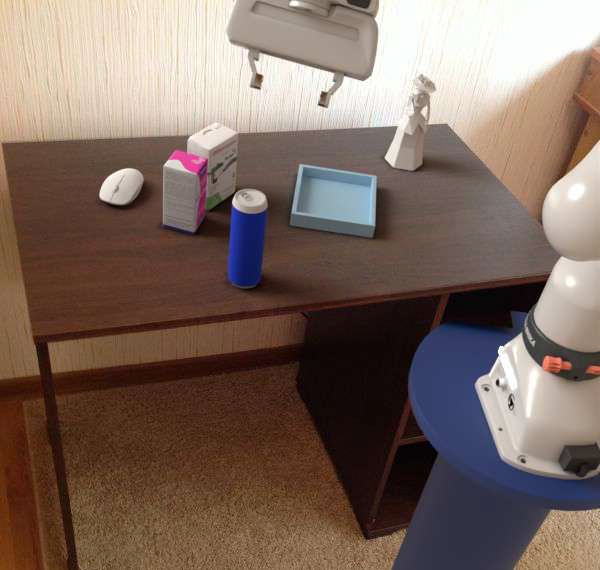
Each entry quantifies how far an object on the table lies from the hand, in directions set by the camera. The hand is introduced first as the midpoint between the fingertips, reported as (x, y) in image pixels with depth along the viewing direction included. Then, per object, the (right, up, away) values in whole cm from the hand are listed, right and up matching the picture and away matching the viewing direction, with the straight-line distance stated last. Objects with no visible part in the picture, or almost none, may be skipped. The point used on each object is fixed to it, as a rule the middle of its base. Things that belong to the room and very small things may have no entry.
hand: (289, 97), depth 102 cm
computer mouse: (-29, -5, +30) cm, 42 cm away
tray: (+8, -6, +35) cm, 36 cm away
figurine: (+22, +7, +49) cm, 54 cm away
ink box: (-14, -5, +32) cm, 36 cm away
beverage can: (-7, -22, +18) cm, 29 cm away
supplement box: (-18, -11, +26) cm, 34 cm away
